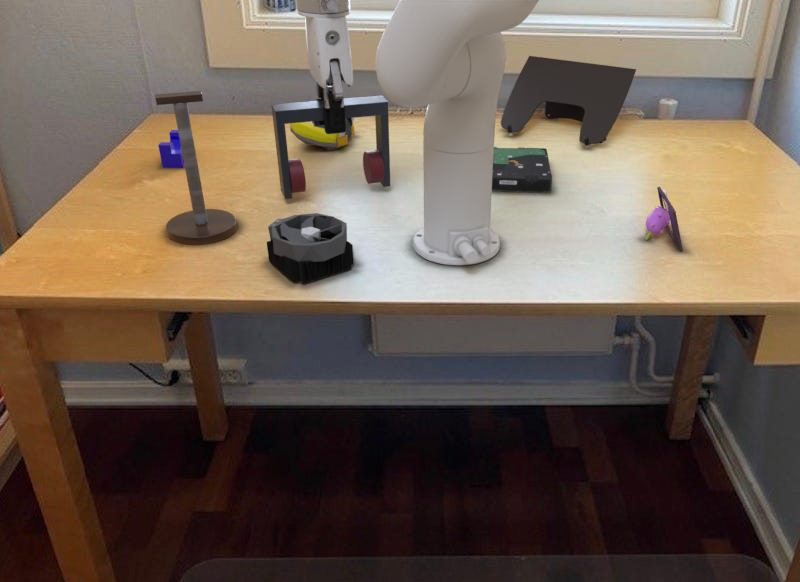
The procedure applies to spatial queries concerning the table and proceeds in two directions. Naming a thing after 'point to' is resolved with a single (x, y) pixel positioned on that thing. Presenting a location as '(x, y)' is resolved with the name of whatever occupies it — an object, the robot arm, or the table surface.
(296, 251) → the cpu cooler
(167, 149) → the cable holder
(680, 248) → the purple piece
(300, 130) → the gaming controller
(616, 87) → the laptop tray
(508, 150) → the disk drive
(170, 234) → the stand
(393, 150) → the table surface
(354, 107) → the headset
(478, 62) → the robot arm
